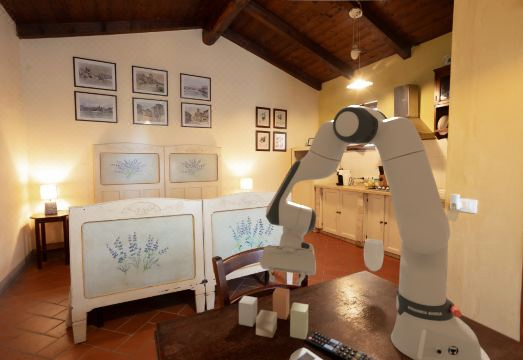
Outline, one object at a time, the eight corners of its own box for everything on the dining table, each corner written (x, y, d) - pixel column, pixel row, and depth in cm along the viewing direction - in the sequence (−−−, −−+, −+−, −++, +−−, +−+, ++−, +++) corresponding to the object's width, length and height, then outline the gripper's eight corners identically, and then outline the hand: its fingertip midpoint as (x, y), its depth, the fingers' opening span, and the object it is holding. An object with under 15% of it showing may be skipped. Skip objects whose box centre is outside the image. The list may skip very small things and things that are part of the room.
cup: (384, 293, 105) (386, 240, 104) (379, 300, 100) (381, 244, 98) (365, 287, 110) (367, 237, 108) (359, 294, 104) (361, 241, 103)
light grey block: (257, 318, 88) (257, 297, 87) (252, 326, 83) (252, 304, 83) (244, 316, 89) (244, 295, 89) (238, 324, 85) (238, 302, 84)
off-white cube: (276, 328, 83) (276, 312, 83) (272, 338, 78) (272, 321, 78) (261, 325, 84) (261, 309, 84) (255, 334, 80) (255, 318, 79)
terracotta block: (289, 312, 92) (289, 289, 91) (286, 319, 87) (286, 295, 87) (276, 310, 93) (276, 287, 93) (272, 317, 89) (272, 293, 88)
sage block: (308, 330, 82) (308, 304, 81) (305, 339, 77) (306, 312, 77) (293, 327, 83) (293, 302, 83) (290, 336, 79) (290, 309, 78)
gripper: (262, 240, 104) (254, 275, 95) (317, 245, 98) (313, 283, 89) (266, 248, 108) (258, 282, 100) (318, 254, 102) (314, 291, 93)
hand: (284, 283), depth 94 cm, fingers open, 8 cm apart
